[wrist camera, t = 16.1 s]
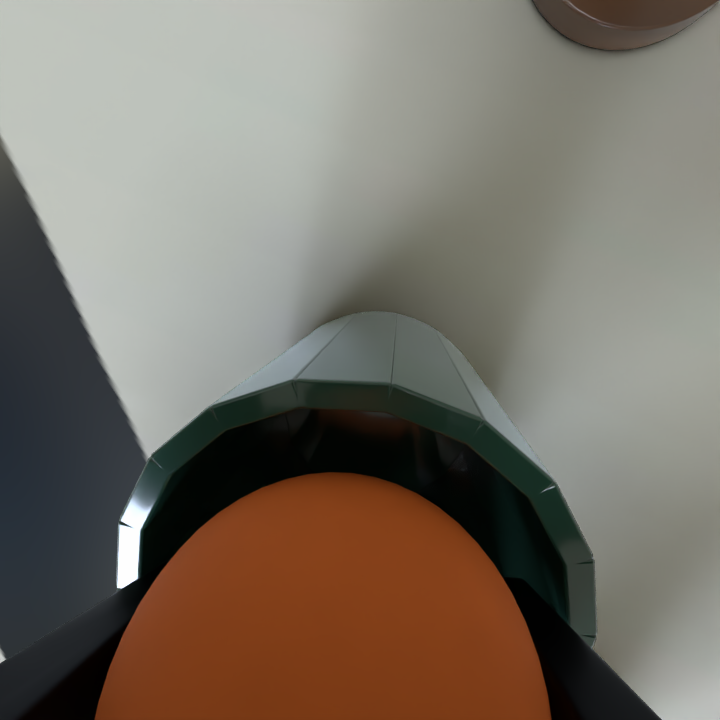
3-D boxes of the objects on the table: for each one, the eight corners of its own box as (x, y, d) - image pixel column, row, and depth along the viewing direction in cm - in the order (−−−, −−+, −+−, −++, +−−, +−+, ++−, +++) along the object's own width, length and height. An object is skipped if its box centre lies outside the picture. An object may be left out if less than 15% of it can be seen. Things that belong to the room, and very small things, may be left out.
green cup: (503, 473, 17) (646, 757, 7) (318, 519, 18) (223, 807, 8) (446, 280, 15) (527, 304, 5) (247, 349, 17) (31, 463, 7)
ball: (550, 806, 7) (979, 1345, 2) (219, 934, 6) (-410, 2160, 1) (430, 481, 10) (472, 360, 5) (202, 550, 10) (-7, 490, 5)
